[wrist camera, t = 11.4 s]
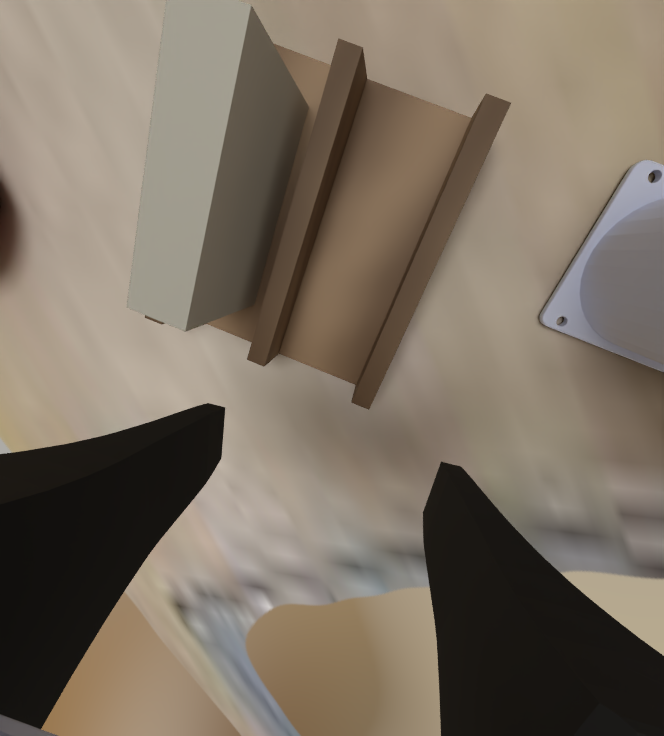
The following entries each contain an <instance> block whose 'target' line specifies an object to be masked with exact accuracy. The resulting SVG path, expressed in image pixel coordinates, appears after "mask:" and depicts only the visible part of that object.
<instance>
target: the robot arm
mask: <svg viewBox="0 0 664 736" xmlns="http://www.w3.org/2000/svg"><path fill="white" fill-rule="evenodd" d="M651 172H653V173H654V174H655V179H654V181H653V182H652V183H650V182H649V181H648V176H649V174H650V173H651ZM561 316H563V317H564V321H563V322H562V323H561V324H559V325H557V323H556V321H557V319H558V318H559V317H561ZM540 322H541V323H542V324H543V325H545V326H547V327H550V328H552V329H555V330H557V331H560V332H562V333H565V334H567V335H570V336H572V337H575V338H578V339H580V340H583V341H585V342H588V343H590V344H593V345H595V346H598V347H600V348H603V349H605V350H608V351H610V352H613V353H616V354H618V355H621V356H623V357H626V358H628V359H631V360H633V361H636V362H638V363H641V364H643V365H646V366H648V367H651V368H653V369H656V370H659V371H661V372H664V165H662V164H659V163H657V162H654V161H651V160H644V161H640V162H637V163H635V164H634V165H632V166H631V167H630V169H629V170H628V171H627V173H626V175H625V176H624V178H623V179H622V181H621V183H620V184H619V186H618V188H617V189H616V191H615V193H614V194H613V196H612V197H611V199H610V201H609V202H608V204H607V206H606V207H605V209H604V211H603V212H602V214H601V215H600V217H599V219H598V220H597V222H596V224H595V225H594V227H593V229H592V230H591V232H590V233H589V235H588V237H587V238H586V240H585V242H584V243H583V245H582V247H581V248H580V250H579V251H578V253H577V255H576V256H575V258H574V260H573V261H572V263H571V265H570V266H569V268H568V269H567V271H566V273H565V274H564V276H563V278H562V279H561V281H560V283H559V284H558V286H557V287H556V289H555V291H554V292H553V294H552V296H551V297H550V299H549V301H548V302H547V304H546V305H545V307H544V309H543V310H542V312H541V314H540ZM224 416H225V407H221V406H217V405H213V404H209V403H207V404H203V405H200V406H196V407H193V408H190V409H187V410H184V411H181V412H178V413H175V414H172V415H170V416H167V417H164V418H161V419H158V420H155V421H152V422H149V423H145V424H142V425H139V426H136V427H132V428H129V429H126V430H122V431H119V432H116V433H112V434H108V435H104V436H100V437H96V438H92V439H87V440H83V441H78V442H74V443H69V444H64V445H58V446H52V447H46V448H40V449H34V450H28V451H22V452H15V453H7V454H0V736H57V735H55V734H52V733H49V732H46V731H44V730H41V728H42V726H43V724H44V723H45V721H46V719H47V718H48V716H49V714H50V712H51V711H52V709H53V707H54V705H55V704H56V702H57V700H58V699H59V697H60V695H61V693H62V692H63V689H64V688H65V686H66V684H67V683H68V681H69V680H70V678H71V676H72V674H73V673H74V671H75V669H76V668H77V666H78V664H79V663H80V661H81V659H82V658H83V656H84V654H85V653H86V651H87V650H88V648H89V646H90V644H91V643H92V641H93V640H94V638H95V637H96V635H97V633H98V632H99V630H100V628H101V627H102V625H103V623H104V622H105V620H106V619H107V617H108V616H109V614H110V612H111V611H112V609H113V608H114V606H115V605H116V603H117V602H118V600H119V599H120V597H121V595H122V594H123V592H124V591H125V589H126V588H127V586H128V585H129V583H130V582H131V580H132V579H133V577H134V576H135V574H136V573H137V571H138V570H139V568H140V567H141V565H142V564H143V562H144V561H145V559H146V558H147V556H148V555H149V554H150V552H151V551H152V550H153V548H154V547H155V546H156V544H157V543H158V542H159V540H160V539H161V538H162V537H163V535H164V534H165V533H166V532H167V531H168V529H169V528H170V527H171V526H172V525H173V523H174V522H175V521H176V520H177V518H178V517H179V516H180V515H181V514H182V512H183V511H184V510H185V509H186V508H187V506H188V505H189V504H190V503H191V501H192V500H193V499H194V498H195V496H196V495H197V494H198V493H199V492H200V490H201V489H202V488H203V486H204V485H205V484H206V482H207V481H208V479H209V478H210V476H211V475H212V473H213V471H214V470H215V468H216V466H217V465H218V463H219V461H220V460H221V455H222V442H223V429H224ZM423 538H424V550H425V557H426V564H427V571H428V578H429V585H430V591H431V599H432V605H433V612H434V619H435V626H436V627H435V628H436V637H437V651H438V670H439V690H440V718H441V736H664V656H663V655H662V654H660V653H659V652H657V651H656V650H655V649H653V648H652V647H651V646H649V645H648V644H647V643H645V642H644V641H642V640H641V639H640V638H638V637H637V636H636V635H635V634H633V633H632V632H631V631H629V630H628V629H627V628H625V627H624V626H623V625H621V624H620V623H619V622H618V621H616V620H615V619H614V618H613V617H611V616H610V615H609V614H608V613H607V612H605V611H604V610H603V609H601V608H600V607H599V606H598V605H597V604H595V603H594V602H593V601H592V600H590V599H589V598H588V597H587V596H586V595H585V594H583V593H582V592H581V591H580V590H579V589H578V588H576V587H575V586H574V585H573V584H572V583H570V582H569V581H568V580H567V579H566V578H565V577H564V576H563V575H562V574H561V573H560V572H559V571H557V570H556V569H555V568H554V567H553V566H552V565H551V564H550V563H549V562H548V561H547V560H545V559H544V558H543V557H542V556H541V555H540V554H539V553H538V552H537V551H536V550H535V549H534V548H533V547H532V546H531V545H530V544H529V543H528V542H527V541H526V540H525V538H524V537H523V536H522V535H521V534H520V533H519V532H518V531H517V530H516V529H515V528H514V527H513V526H512V525H511V524H510V523H509V521H508V520H507V519H506V518H505V517H504V516H503V515H502V514H501V513H500V511H499V510H498V509H497V508H496V507H495V506H494V504H493V503H492V502H491V501H490V500H489V499H488V497H487V496H486V495H485V494H484V493H483V492H482V490H481V489H480V488H479V487H478V486H477V484H476V483H475V482H474V481H473V480H472V478H471V477H470V476H469V475H468V474H467V473H466V472H465V470H464V469H463V468H462V467H460V466H456V465H452V464H448V463H444V462H441V464H440V467H439V469H438V472H437V475H436V478H435V481H434V483H433V486H432V489H431V492H430V495H429V497H428V500H427V503H426V506H425V509H424V511H423Z"/></svg>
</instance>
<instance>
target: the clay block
mask: <svg viewBox="0 0 664 736" xmlns="http://www.w3.org/2000/svg"><path fill="white" fill-rule="evenodd" d="M308 108H309V106H308V104H307V102H306V100H305V99H304V97H303V95H302V93H301V92H300V90H299V88H298V86H297V85H296V83H295V81H294V79H293V78H292V76H291V74H290V72H289V71H288V69H287V67H286V65H285V64H284V62H283V60H282V58H281V57H280V55H279V53H278V51H277V49H276V48H275V46H274V44H273V42H272V41H271V39H270V37H269V35H268V34H267V32H266V30H265V28H264V27H263V25H262V23H261V21H260V20H259V18H258V16H257V14H256V13H255V11H254V9H253V7H252V6H251V5H250V4H247V3H244V2H242V1H239V0H166V5H165V12H164V20H163V28H162V36H161V43H160V51H159V59H158V67H157V74H156V82H155V90H154V98H153V106H152V113H151V121H150V129H149V137H148V144H147V152H146V160H145V168H144V175H143V183H142V191H141V199H140V206H139V214H138V222H137V230H136V237H135V245H134V253H133V261H132V269H131V276H130V284H129V292H128V300H127V308H129V309H131V310H134V311H136V312H139V313H141V314H144V315H146V316H148V317H151V318H153V319H156V320H158V321H161V322H163V323H165V324H168V325H170V326H173V327H175V328H178V329H180V330H183V331H188V330H191V329H193V328H196V327H198V326H201V325H204V324H206V323H209V322H211V321H214V320H216V319H219V318H222V317H224V316H227V315H229V314H232V313H234V312H237V311H240V310H242V309H245V308H247V307H250V306H253V305H254V304H255V301H256V297H257V293H258V290H259V286H260V282H261V279H262V275H263V272H264V268H265V264H266V261H267V257H268V253H269V250H270V246H271V243H272V239H273V235H274V232H275V228H276V224H277V221H278V217H279V214H280V210H281V206H282V203H283V199H284V195H285V192H286V188H287V185H288V181H289V177H290V174H291V170H292V166H293V163H294V159H295V155H296V152H297V148H298V145H299V141H300V137H301V134H302V130H303V126H304V123H305V119H306V116H307V112H308Z"/></svg>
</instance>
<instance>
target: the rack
mask: <svg viewBox="0 0 664 736" xmlns="http://www.w3.org/2000/svg"><path fill="white" fill-rule="evenodd" d="M274 46H275V48H276V49H277V51H278V53H279V55H280V57H281V58H282V60H283V62H284V64H285V65H286V67H287V69H288V71H289V72H290V74H291V76H292V78H293V79H294V81H295V83H296V85H297V86H298V88H299V90H300V92H301V93H302V95H303V97H304V99H305V100H306V102H307V104H308V106H309V108H308V112H307V116H306V119H305V123H304V126H303V130H302V134H301V137H300V141H299V145H298V148H297V152H296V155H295V159H294V163H293V166H292V170H291V174H290V177H289V181H288V185H287V188H286V192H285V195H284V199H283V203H282V206H281V210H280V214H279V217H278V221H277V224H276V228H275V232H274V235H273V239H272V243H271V246H270V250H269V253H268V257H267V261H266V264H265V268H264V272H263V275H262V279H261V282H260V286H259V290H258V293H257V297H256V301H255V304H254V305H253V306H250V307H247V308H245V309H242V310H240V311H237V312H234V313H232V314H229V315H227V316H224V317H222V318H219V319H216V320H214V321H211V322H209V323H206V324H209V325H211V326H213V327H216V328H218V329H221V330H223V331H226V332H228V333H231V334H233V335H235V336H238V337H240V338H243V339H245V340H248V341H250V342H252V344H251V347H250V351H249V354H248V358H247V360H249V361H252V362H254V363H257V364H259V365H262V366H265V365H267V364H268V363H269V362H270V361H271V360H272V359H273V358H274V357H275V356H276V355H278V354H282V355H284V356H287V357H289V358H292V359H294V360H296V361H299V362H301V363H304V364H306V365H309V366H311V367H314V368H316V369H318V370H321V371H323V372H326V373H328V374H331V375H333V376H336V377H338V378H340V379H343V380H345V381H348V382H350V383H353V384H355V385H356V387H355V391H354V394H353V398H352V403H354V404H356V405H359V406H361V407H364V408H366V409H369V408H370V406H371V404H372V402H373V400H374V398H375V396H376V393H377V391H378V389H379V387H380V385H381V383H382V380H383V378H384V376H385V374H386V372H387V370H388V367H389V365H390V363H391V361H392V359H393V357H394V355H395V352H396V350H397V348H398V346H399V344H400V342H401V339H402V337H403V335H404V333H405V331H406V329H407V326H408V324H409V322H410V320H411V318H412V316H413V314H414V311H415V309H416V307H417V305H418V303H419V301H420V298H421V296H422V294H423V292H424V290H425V288H426V285H427V283H428V281H429V279H430V277H431V275H432V273H433V270H434V268H435V266H436V264H437V262H438V260H439V257H440V255H441V253H442V251H443V249H444V247H445V244H446V242H447V240H448V238H449V236H450V234H451V232H452V229H453V227H454V225H455V223H456V221H457V219H458V216H459V214H460V212H461V210H462V208H463V206H464V203H465V201H466V199H467V197H468V195H469V193H470V191H471V188H472V186H473V184H474V182H475V180H476V178H477V175H478V173H479V171H480V169H481V167H482V165H483V162H484V160H485V158H486V156H487V154H488V152H489V150H490V147H491V145H492V143H493V141H494V139H495V137H496V134H497V132H498V130H499V128H500V126H501V124H502V121H503V119H504V117H505V115H506V113H507V111H508V109H509V106H510V104H511V103H510V102H507V101H505V100H502V99H499V98H497V97H494V96H491V95H489V94H486V95H485V96H484V98H483V100H482V101H481V103H480V105H479V106H478V108H477V110H476V111H475V113H474V115H473V116H472V118H470V117H467V116H464V115H462V114H459V113H456V112H454V111H451V110H448V109H446V108H443V107H440V106H438V105H435V104H432V103H430V102H427V101H424V100H422V99H419V98H416V97H414V96H411V95H408V94H406V93H403V92H400V91H398V90H395V89H393V88H390V87H387V86H385V85H382V84H379V83H377V82H374V81H371V80H369V79H367V74H366V67H365V60H364V53H363V47H360V46H357V45H355V44H352V43H349V42H347V41H344V40H341V39H338V42H337V46H336V49H335V53H334V56H333V60H332V63H331V65H329V64H326V63H323V62H321V61H318V60H315V59H313V58H310V57H308V56H305V55H302V54H300V53H297V52H294V51H292V50H289V49H286V48H284V47H281V46H278V45H276V44H274ZM145 318H147V319H150V320H152V321H155V322H157V323H160V324H165V323H163V322H161V321H158V320H156V319H153V318H151V317H148V316H146V315H145Z"/></svg>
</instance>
